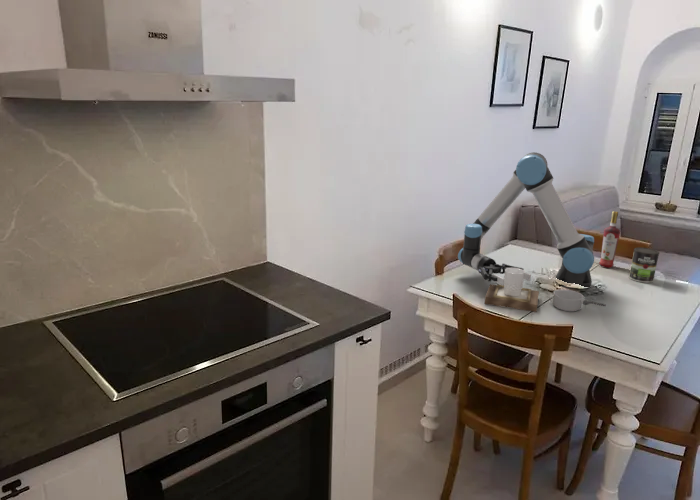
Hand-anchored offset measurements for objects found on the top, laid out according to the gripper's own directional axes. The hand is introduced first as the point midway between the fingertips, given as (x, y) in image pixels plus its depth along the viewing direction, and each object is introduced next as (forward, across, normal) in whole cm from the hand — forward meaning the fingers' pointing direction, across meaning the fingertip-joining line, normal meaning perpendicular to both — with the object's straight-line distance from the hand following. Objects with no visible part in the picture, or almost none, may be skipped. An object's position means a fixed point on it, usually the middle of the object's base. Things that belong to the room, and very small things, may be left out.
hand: (516, 280), depth 208 cm
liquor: (-20, -76, -10) cm, 79 cm away
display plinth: (-2, 0, -10) cm, 10 cm away
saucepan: (+16, -18, -10) cm, 26 cm away
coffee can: (-1, -76, -10) cm, 76 cm away
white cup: (-2, 0, -7) cm, 7 cm away
